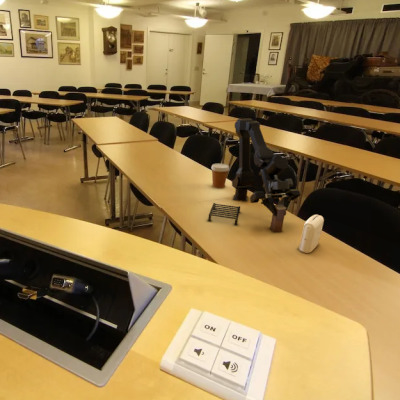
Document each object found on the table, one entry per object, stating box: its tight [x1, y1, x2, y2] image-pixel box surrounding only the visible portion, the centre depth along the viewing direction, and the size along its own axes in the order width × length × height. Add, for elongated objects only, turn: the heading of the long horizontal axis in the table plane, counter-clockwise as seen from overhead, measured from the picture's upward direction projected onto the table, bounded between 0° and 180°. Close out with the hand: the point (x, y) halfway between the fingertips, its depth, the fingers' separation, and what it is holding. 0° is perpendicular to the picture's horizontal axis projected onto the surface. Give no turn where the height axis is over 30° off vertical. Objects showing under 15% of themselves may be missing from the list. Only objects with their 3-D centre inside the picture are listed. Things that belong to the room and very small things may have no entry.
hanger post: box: [269, 204, 287, 233], centre depth 128 cm, size 3×3×11 cm
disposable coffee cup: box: [210, 163, 230, 189], centre depth 176 cm, size 10×10×12 cm
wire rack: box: [207, 202, 241, 226], centre depth 142 cm, size 14×12×3 cm
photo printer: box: [298, 214, 325, 254], centre depth 115 cm, size 10×4×12 cm, turn 133°
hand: (280, 215), depth 126 cm, fingers closed on hanger post, 3 cm apart
